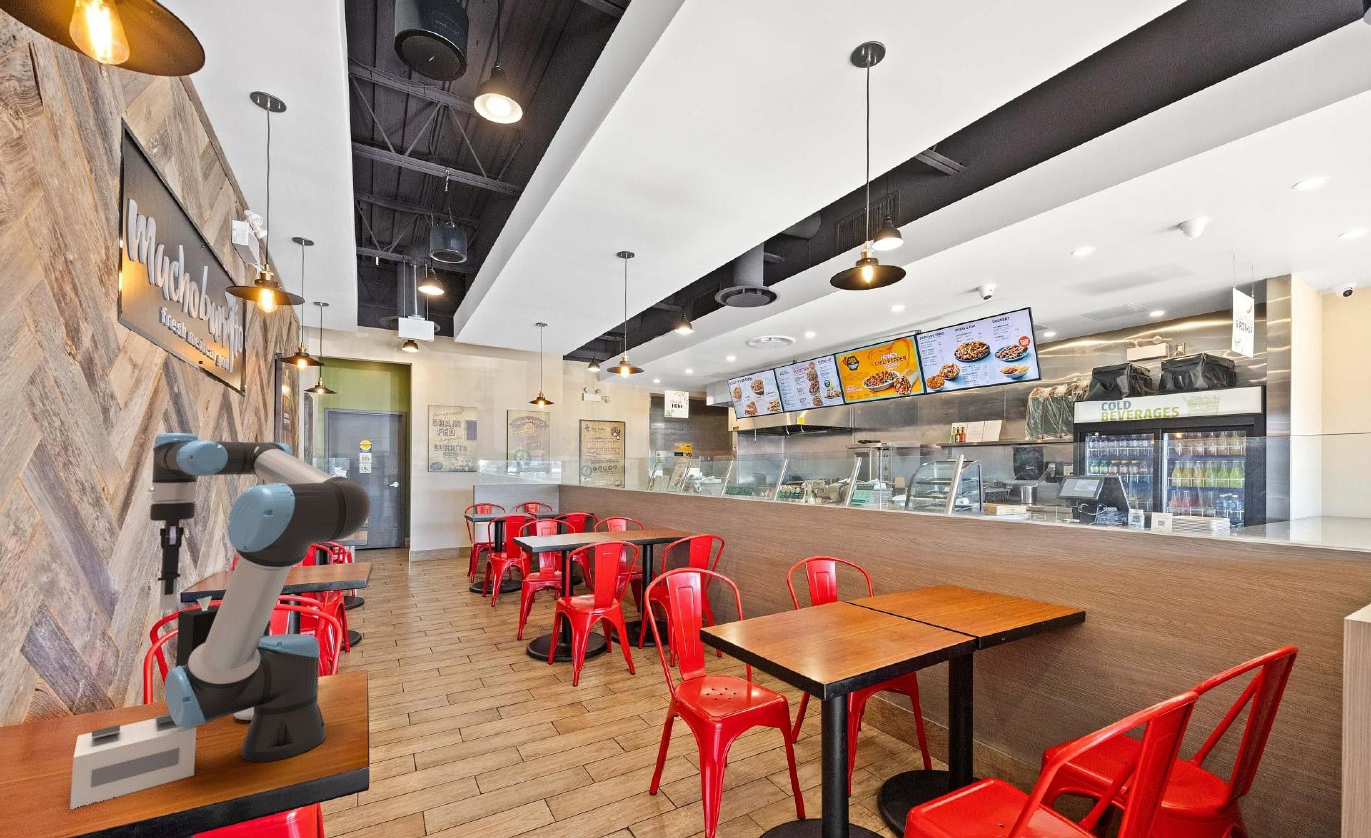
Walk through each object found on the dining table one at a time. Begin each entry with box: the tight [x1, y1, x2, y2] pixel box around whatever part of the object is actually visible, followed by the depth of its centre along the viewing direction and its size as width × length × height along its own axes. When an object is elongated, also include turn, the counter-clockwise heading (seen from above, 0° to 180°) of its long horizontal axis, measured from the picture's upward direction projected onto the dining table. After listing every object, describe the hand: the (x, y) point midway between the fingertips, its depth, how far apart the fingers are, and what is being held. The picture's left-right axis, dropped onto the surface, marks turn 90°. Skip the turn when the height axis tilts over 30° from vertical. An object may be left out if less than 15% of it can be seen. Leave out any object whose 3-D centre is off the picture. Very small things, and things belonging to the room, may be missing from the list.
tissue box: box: [175, 595, 220, 668], centre depth 149 cm, size 8×8×28 cm
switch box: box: [69, 717, 197, 811], centre depth 116 cm, size 12×17×9 cm
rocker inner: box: [154, 712, 172, 724], centre depth 119 cm, size 6×4×1 cm
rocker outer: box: [91, 724, 121, 737], centre depth 113 cm, size 6×4×1 cm
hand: (167, 608), depth 131 cm, fingers closed
